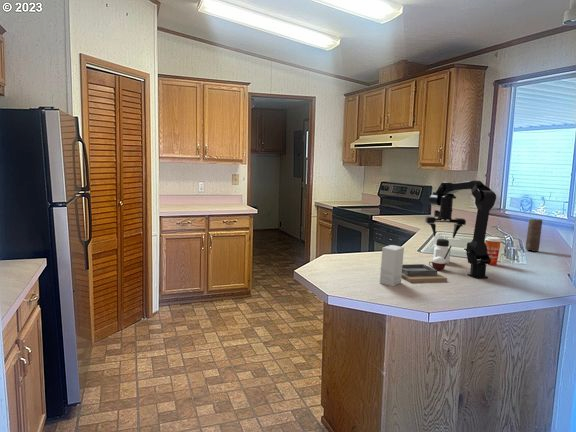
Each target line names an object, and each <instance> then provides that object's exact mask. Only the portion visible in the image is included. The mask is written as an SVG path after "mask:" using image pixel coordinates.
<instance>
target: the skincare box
mask: <svg viewBox="0 0 576 432" xmlns="http://www.w3.org/2000/svg"><path fill="white" fill-rule="evenodd" d="M404 250H405V247H404V246H399V245H395V244H389V245H386V246H384V247H382V252H381V263H380V272H379V273H380V274H379V284H380V285H386V286H389V287H395V286H397V285H399V284H401V283H402V278H401V276H402V265H404V264H403V263H404Z"/></svg>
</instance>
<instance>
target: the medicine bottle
mask: <svg viewBox="0 0 576 432" xmlns="http://www.w3.org/2000/svg"><path fill="white" fill-rule="evenodd" d="M449 245H450V241H449V240H448V239H447V238H438V239H436V245H435V246H434V248H433V256H432V259H433V258H435V257H438V256H440V257H442V258H444V257H445V255H446V253H447V251H448V249H449V247H450V246H449ZM450 259H451V250H450V251H449V253H448V255H447V257H446V265H447V264H448V265H449V264H450Z"/></svg>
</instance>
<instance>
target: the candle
mask: <svg viewBox="0 0 576 432" xmlns="http://www.w3.org/2000/svg"><path fill="white" fill-rule="evenodd" d="M542 225H543V219H541V218H539V219H538V218H537V219H535V218H534V219H532V218H531V219H529V220H528V227H527V235H526V240H525V241H526V242H525V248H524V249H525V250H526V249H527V250H532V251H531V252H539V250H540V243H541V237H542V236H541V235H542V227H543V226H542ZM527 250H526V251H527Z"/></svg>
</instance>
